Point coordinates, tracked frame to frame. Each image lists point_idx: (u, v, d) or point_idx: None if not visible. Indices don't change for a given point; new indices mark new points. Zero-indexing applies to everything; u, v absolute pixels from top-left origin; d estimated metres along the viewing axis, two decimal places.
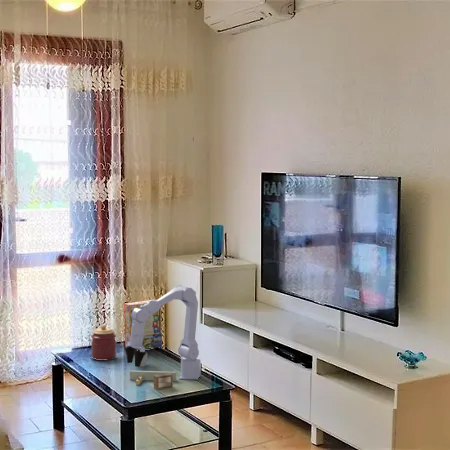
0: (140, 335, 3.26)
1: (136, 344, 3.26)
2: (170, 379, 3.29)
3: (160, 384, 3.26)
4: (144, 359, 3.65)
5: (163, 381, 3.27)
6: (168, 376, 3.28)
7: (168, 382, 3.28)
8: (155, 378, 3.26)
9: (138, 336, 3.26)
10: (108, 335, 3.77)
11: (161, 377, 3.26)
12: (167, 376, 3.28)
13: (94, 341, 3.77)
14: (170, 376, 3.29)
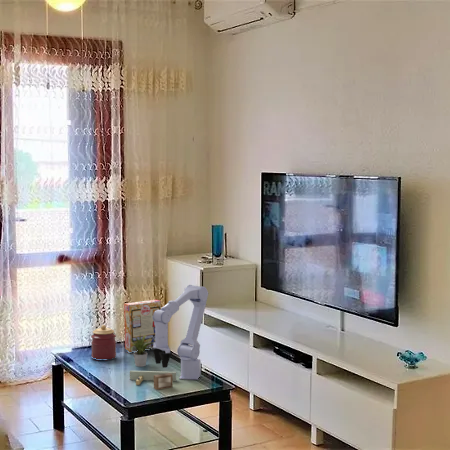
0: (166, 336, 3.29)
1: (161, 345, 3.28)
2: (170, 379, 3.29)
3: (160, 384, 3.26)
4: (144, 359, 3.65)
5: (163, 381, 3.27)
6: (168, 376, 3.28)
7: (168, 382, 3.28)
8: (155, 378, 3.26)
9: (162, 337, 3.28)
10: (108, 335, 3.77)
11: (161, 377, 3.26)
12: (167, 376, 3.28)
13: (94, 341, 3.77)
14: (170, 376, 3.29)
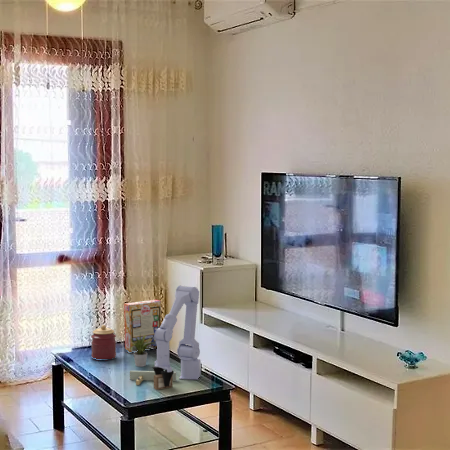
0: (168, 354, 3.26)
1: (163, 364, 3.25)
2: None
3: (160, 384, 3.26)
4: (144, 359, 3.65)
5: (163, 381, 3.27)
6: None
7: None
8: (155, 378, 3.26)
9: (164, 356, 3.25)
10: (108, 335, 3.77)
11: (161, 377, 3.26)
12: None
13: (94, 341, 3.77)
14: None
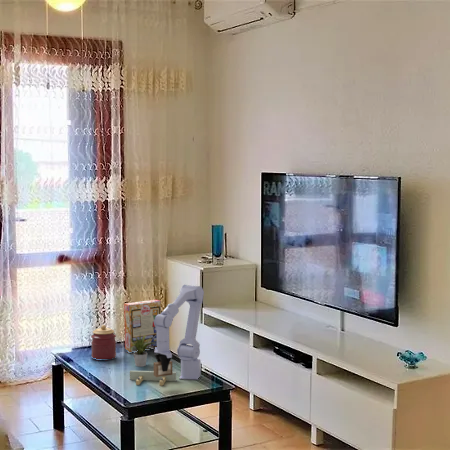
0: (168, 340, 3.26)
1: (163, 350, 3.25)
2: (170, 366, 3.28)
3: (160, 371, 3.26)
4: (144, 359, 3.65)
5: None
6: None
7: (168, 369, 3.28)
8: (155, 365, 3.26)
9: (164, 342, 3.25)
10: (108, 335, 3.77)
11: None
12: None
13: (94, 341, 3.77)
14: (170, 363, 3.28)
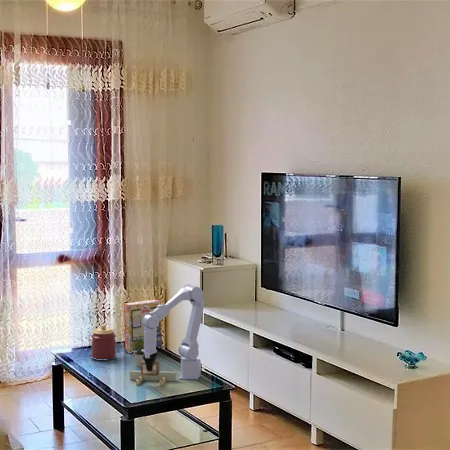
0: (153, 341, 3.31)
1: (146, 350, 3.31)
2: (155, 367, 3.32)
3: (145, 370, 3.33)
4: None
5: None
6: (153, 364, 3.33)
7: (153, 370, 3.33)
8: None
9: (147, 342, 3.31)
10: (108, 335, 3.77)
11: None
12: None
13: (94, 341, 3.77)
14: (155, 364, 3.32)
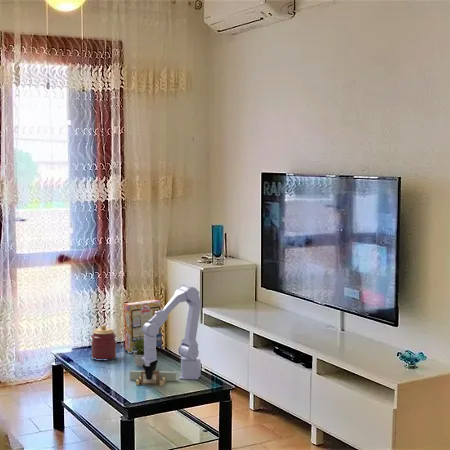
0: (153, 349, 3.32)
1: (146, 358, 3.31)
2: (155, 376, 3.33)
3: (145, 379, 3.33)
4: None
5: None
6: (153, 373, 3.33)
7: (153, 379, 3.33)
8: None
9: (147, 350, 3.31)
10: (108, 335, 3.77)
11: None
12: (152, 373, 3.33)
13: (94, 341, 3.77)
14: (155, 373, 3.33)
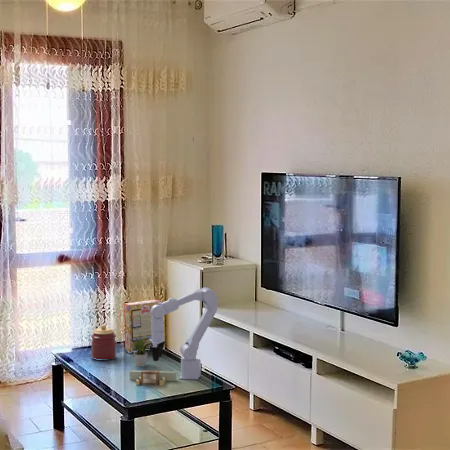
0: (159, 331, 3.38)
1: (154, 339, 3.38)
2: (155, 376, 3.33)
3: (145, 379, 3.33)
4: (144, 359, 3.65)
5: (148, 377, 3.33)
6: (153, 373, 3.33)
7: (153, 379, 3.33)
8: None
9: (155, 332, 3.38)
10: (108, 335, 3.77)
11: (146, 373, 3.33)
12: (152, 373, 3.33)
13: (94, 341, 3.77)
14: (155, 373, 3.33)
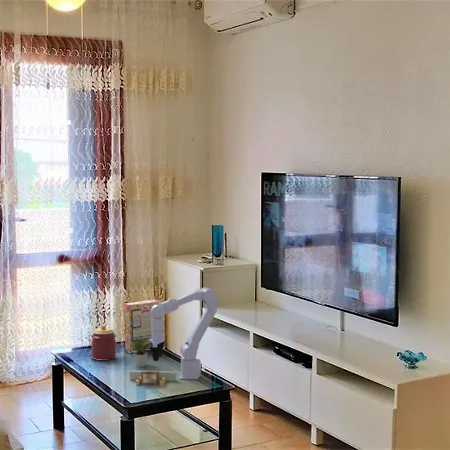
0: (159, 331, 3.38)
1: (154, 339, 3.38)
2: (155, 376, 3.33)
3: (145, 379, 3.33)
4: (144, 359, 3.65)
5: (148, 377, 3.33)
6: (153, 373, 3.33)
7: (153, 379, 3.33)
8: None
9: (155, 332, 3.38)
10: (108, 335, 3.77)
11: (146, 373, 3.33)
12: (152, 373, 3.33)
13: (94, 341, 3.77)
14: (155, 373, 3.33)
